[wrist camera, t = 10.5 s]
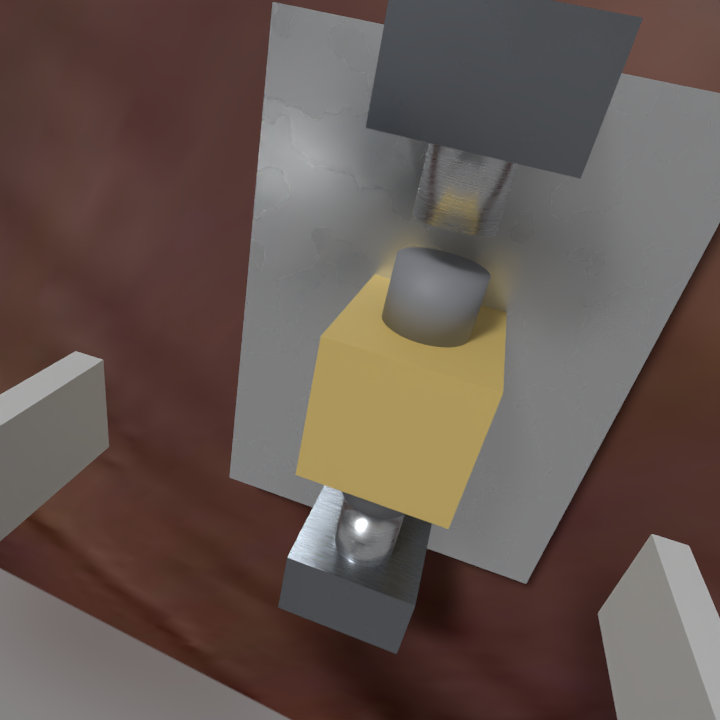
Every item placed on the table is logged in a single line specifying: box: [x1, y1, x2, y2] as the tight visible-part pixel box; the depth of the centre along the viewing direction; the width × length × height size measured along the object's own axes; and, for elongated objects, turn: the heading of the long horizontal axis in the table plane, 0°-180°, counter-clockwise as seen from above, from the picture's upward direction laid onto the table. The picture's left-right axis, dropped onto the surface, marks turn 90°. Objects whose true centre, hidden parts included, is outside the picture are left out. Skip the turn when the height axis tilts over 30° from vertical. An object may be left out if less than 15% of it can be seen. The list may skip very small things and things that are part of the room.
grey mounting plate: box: [230, 0, 720, 654], centre depth 18 cm, size 21×15×7 cm
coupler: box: [296, 247, 507, 529], centre depth 17 cm, size 9×5×6 cm, turn 168°
